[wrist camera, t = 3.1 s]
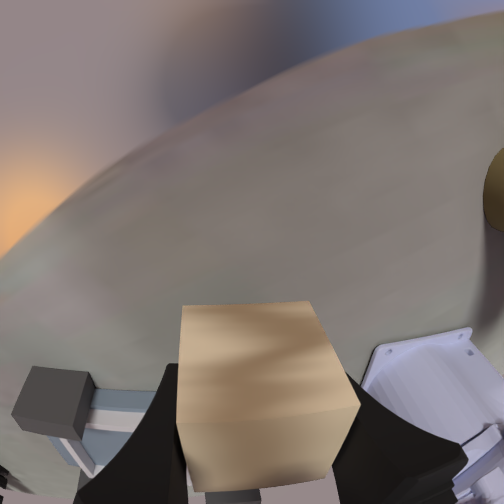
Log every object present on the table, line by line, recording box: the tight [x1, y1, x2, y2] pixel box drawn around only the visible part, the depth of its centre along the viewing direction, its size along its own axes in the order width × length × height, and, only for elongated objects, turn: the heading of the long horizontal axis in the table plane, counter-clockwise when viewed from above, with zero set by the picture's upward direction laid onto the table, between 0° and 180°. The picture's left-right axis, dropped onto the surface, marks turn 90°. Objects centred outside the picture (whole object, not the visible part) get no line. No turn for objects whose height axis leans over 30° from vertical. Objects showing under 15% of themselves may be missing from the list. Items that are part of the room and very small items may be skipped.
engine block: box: [176, 301, 361, 492], centre depth 11 cm, size 5×5×6 cm
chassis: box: [11, 366, 261, 504], centre depth 18 cm, size 18×13×4 cm
